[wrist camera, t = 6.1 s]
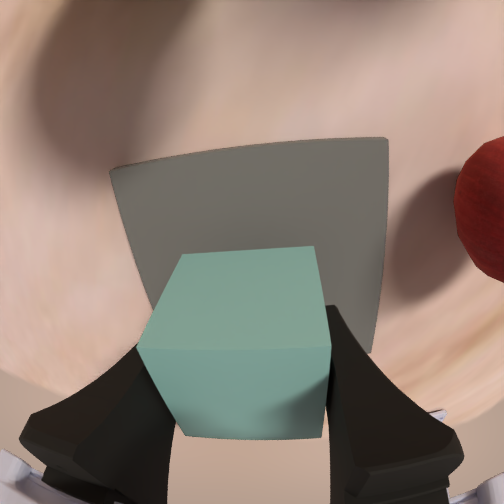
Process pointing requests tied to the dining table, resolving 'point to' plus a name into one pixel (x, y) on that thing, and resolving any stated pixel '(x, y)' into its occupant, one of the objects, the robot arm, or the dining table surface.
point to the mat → (267, 213)
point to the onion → (483, 208)
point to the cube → (242, 345)
